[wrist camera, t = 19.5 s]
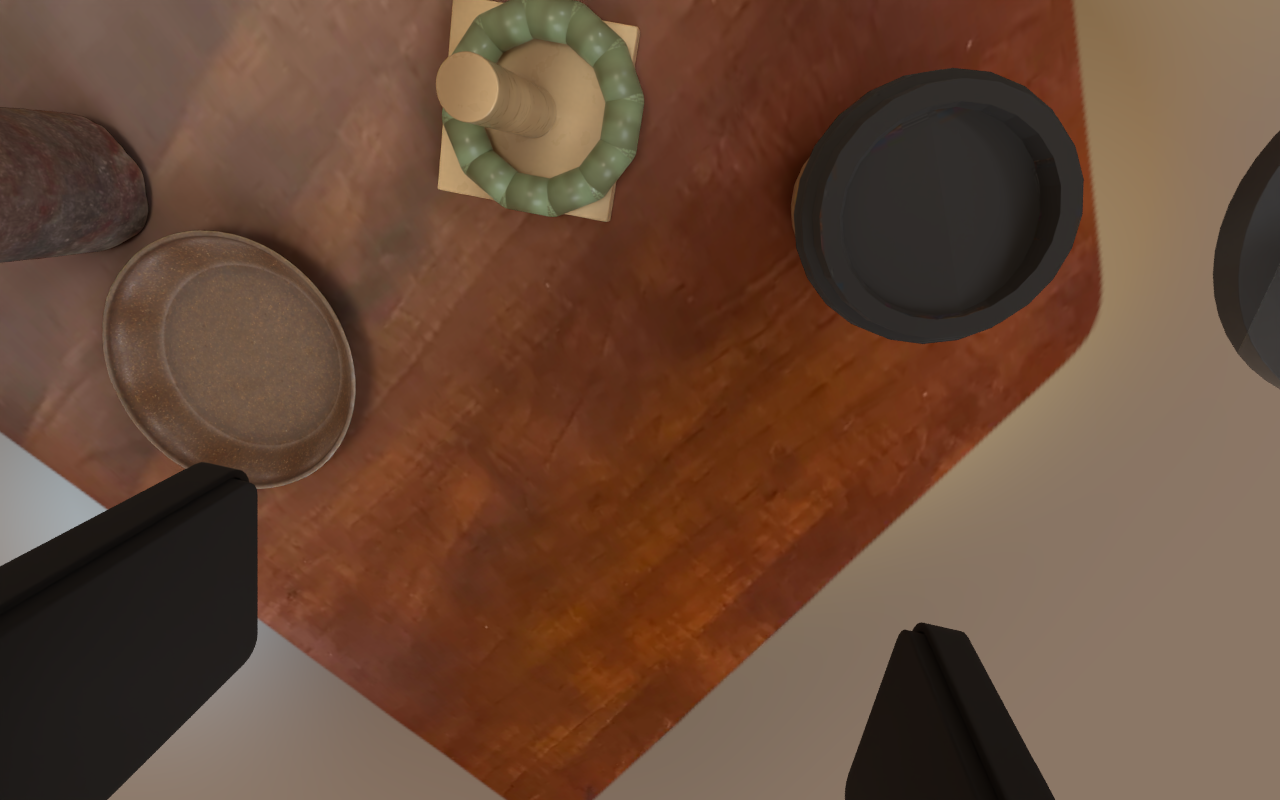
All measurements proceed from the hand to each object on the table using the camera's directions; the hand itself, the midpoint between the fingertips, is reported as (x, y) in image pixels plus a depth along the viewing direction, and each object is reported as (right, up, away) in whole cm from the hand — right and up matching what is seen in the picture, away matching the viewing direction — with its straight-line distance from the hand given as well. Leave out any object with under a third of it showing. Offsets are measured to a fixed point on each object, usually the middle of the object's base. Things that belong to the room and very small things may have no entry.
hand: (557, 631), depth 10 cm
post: (-4, +18, +25) cm, 31 cm away
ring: (-4, +17, +23) cm, 29 cm away
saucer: (-21, +6, +31) cm, 38 cm away
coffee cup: (+12, +13, +24) cm, 30 cm away
